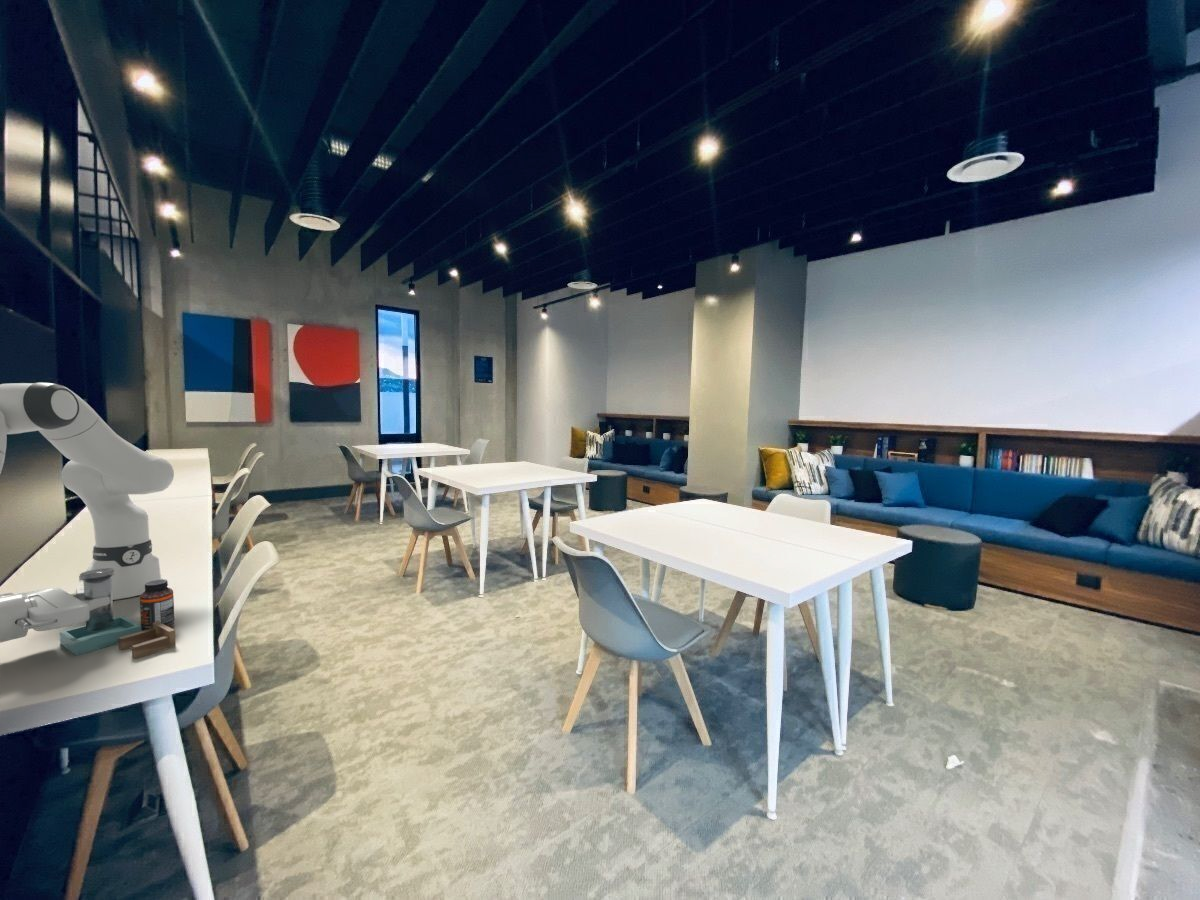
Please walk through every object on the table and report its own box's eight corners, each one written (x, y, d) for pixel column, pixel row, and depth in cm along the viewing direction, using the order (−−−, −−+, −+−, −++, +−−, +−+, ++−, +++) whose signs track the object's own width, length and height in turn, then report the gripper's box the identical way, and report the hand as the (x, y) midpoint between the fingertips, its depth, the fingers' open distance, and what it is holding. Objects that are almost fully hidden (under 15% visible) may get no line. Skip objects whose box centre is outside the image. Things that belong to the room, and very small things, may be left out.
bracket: (118, 648, 108) (118, 632, 108) (158, 636, 114) (158, 621, 113) (134, 658, 103) (134, 642, 103) (175, 646, 109) (174, 630, 109)
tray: (60, 643, 110) (59, 631, 110) (124, 626, 119) (123, 615, 119) (76, 655, 104) (75, 643, 104) (141, 636, 114) (141, 625, 113)
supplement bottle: (135, 631, 116) (132, 584, 115) (165, 621, 122) (163, 576, 121) (150, 635, 114) (148, 587, 113) (180, 625, 120) (178, 579, 119)
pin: (78, 628, 110) (76, 572, 110) (111, 620, 115) (109, 566, 114) (87, 634, 108) (84, 577, 107) (120, 625, 112) (118, 570, 111)
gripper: (23, 612, 94) (120, 591, 106) (-4, 592, 105) (88, 575, 117) (25, 645, 95) (122, 620, 107) (-2, 622, 105) (89, 602, 117)
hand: (104, 597), depth 112 cm, fingers closed on pin, 4 cm apart
